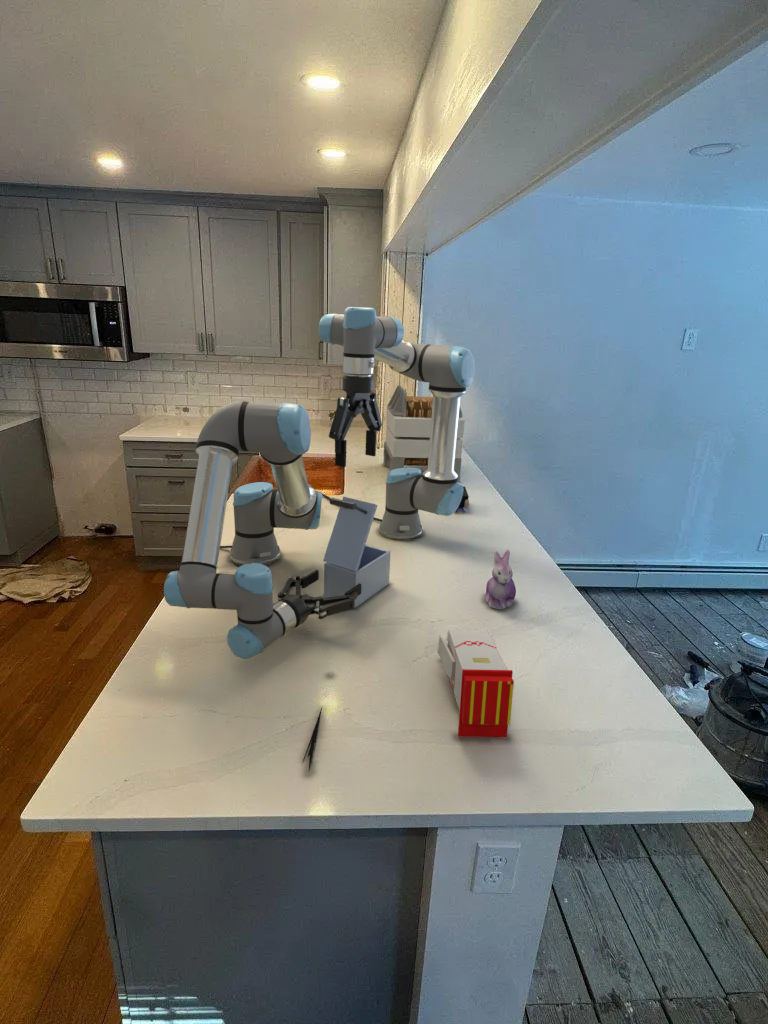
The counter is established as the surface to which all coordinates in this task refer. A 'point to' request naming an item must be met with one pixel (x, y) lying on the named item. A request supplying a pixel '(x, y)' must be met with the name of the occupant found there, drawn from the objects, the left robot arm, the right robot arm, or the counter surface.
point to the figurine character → (464, 500)
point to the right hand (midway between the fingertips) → (356, 460)
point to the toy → (478, 682)
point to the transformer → (413, 432)
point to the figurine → (501, 583)
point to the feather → (313, 740)
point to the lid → (349, 532)
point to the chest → (359, 575)
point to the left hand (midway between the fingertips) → (338, 581)
